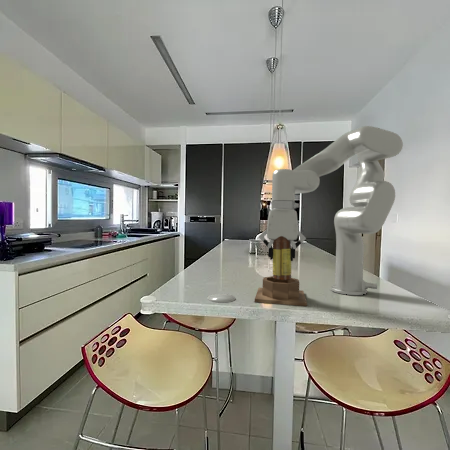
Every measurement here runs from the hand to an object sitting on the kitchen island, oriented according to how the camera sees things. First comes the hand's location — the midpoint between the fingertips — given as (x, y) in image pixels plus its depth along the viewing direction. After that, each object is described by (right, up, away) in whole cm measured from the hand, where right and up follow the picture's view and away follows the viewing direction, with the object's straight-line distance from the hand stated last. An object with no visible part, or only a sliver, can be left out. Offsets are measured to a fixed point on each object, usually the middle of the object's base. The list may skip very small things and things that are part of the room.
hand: (281, 259), depth 96 cm
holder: (0, -13, 0) cm, 13 cm away
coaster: (-20, -13, -3) cm, 24 cm away
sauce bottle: (0, -7, 0) cm, 7 cm away
